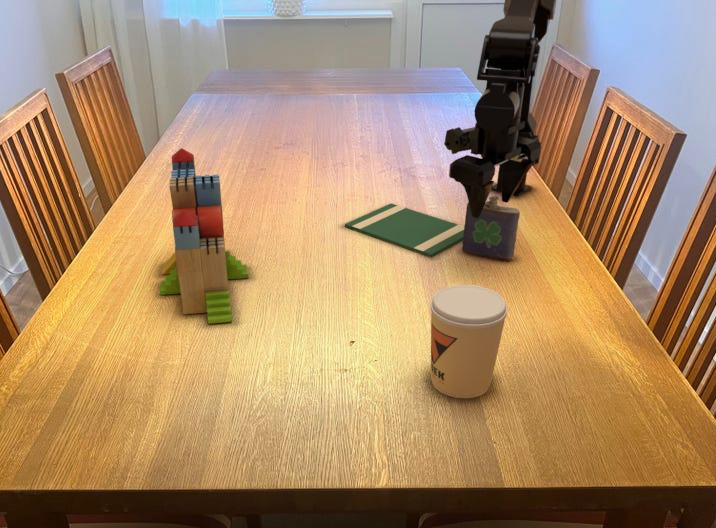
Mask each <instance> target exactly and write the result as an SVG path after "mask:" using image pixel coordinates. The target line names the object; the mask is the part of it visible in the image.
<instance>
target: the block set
mask: <svg viewBox="0 0 716 528" xmlns="http://www.w3.org/2000/svg"><path fill="white" fill-rule="evenodd" d="M171 168H172V169H171V171H170V172H171V173H170V176H171V177H170V178H169V182H168V183H169V185H168V186H169V193H170V200H171V206H172V209H171V218H172V219H171V220H172V221H171V222H172V231H173V240H174V253H173V254H172V255H171V256H170V257H169V258H168V259H167V261H166V262H165V263H163V265H162V269H161V270H162V271H161V275H162V276H164V275H165V280H164V279H163V280H161V281H160V287H159V291H160V295H161V296H163V295H164V296H165V295H178V294H180V297H181V304H182V312H183V315H192V314H203V313H206V315H207V323H208V324H220V323H221V324H222V323H230V322H233V316H232V306H231V297H230V290H229V280H240V279H248V278H249V269H248V264H242V263H243V262H242V260H241V259H238V260H237V257H236V255H231V251H229V250H226V244H225V230H224V215H223V204H222V193H221V180H220V175H219V174H212V175H210V174H205V175H197V174H196V166H195V156H194V154H193V153H192V152H190V151H188V150H187V149H185V148H179V149H178V150H176V151H175V153H173V154H172V155H171Z"/></svg>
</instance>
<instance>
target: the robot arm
mask: <svg viewBox="0 0 716 528" xmlns="http://www.w3.org/2000/svg"><path fill="white" fill-rule="evenodd" d="M556 6H557V0H504V3H503V9H502V10H503V11H502V12H503V15H504V16H503V18H501V19H499V20H496V21H494V22H493V24H492V26H491V28H490V30H489V33H488V34H485V36H484V37H483V43H482V48H481V54H480V59H479V65H478V70H477V73H476V74H477V75H476V81H486V86H485V90H484V91H483V93H482V95H481V96H480V97H479V98H478V101H477V102H476V105H475V106H474V119H475V122H476V123H475V124H474V126H473V127H469V128H463V129H462V128H461V127H459V126H457V127H456V128H455V127H454V128H450V129H447V130H446V132H445V137H444V143H443V144H444V146H445V148H446V150H448V151H450V152H451V155H455V154H458V153H460V152H466V151H470V154H471V155H469V154H466V155H463V156H462V157H459V158H456V159H454V160H453V161H452V162H451V163H450V164H449V168H448V169H449V170H448V173H449V174H448V177H449V178H450V179H453V180H454V182H456V183H460V184H461V186H462V187H463V188H464V191H465V194H466V197H467V203H468V202H469V206H470V210H471V214H472V217H475V218H478V217H479V216H480V214H481V212H482V210H483V207H484V205H485V203H487V200H488V199H489V195H490V193H491V191H494V192H499V193H501V202H502V203H506V204H507V203H509V202H510V201H511V199H512V197H518V196H520V195H523V194H524V193H526V192H529V191H530V190H532V188H533V185H529V184H526V183H527V175H528V173H529V171H530V170H531V169H532V167H535V165H537V164H539V162H540V158H541V151H542V142H541V141H540V138H539V137H540V135H539V134H537V127H538V125H537V124H538V123H537V120H536V119H535V118H534V116H533V114H532V112H531V109H532V100H533V92H534V82H535V77H536V72H537V68H538V64H539V63H538V62H539V57H540V53H541V45H540V44H539V43H540V42H541V41H542V40H543V38H545V36H546V34H547V32H548V29H549V25H550V22H551V20H552V21H553V20H554V19H555V13H556ZM473 155H475V156H473ZM478 155H479V156H480V157H477V156H478ZM497 167H498V174H497V180H496V183H495V181H494V180H493V178H494V176H495V175H496V168H497ZM494 183H495V184H494Z"/></svg>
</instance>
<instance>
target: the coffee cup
mask: <svg viewBox="0 0 716 528" xmlns="http://www.w3.org/2000/svg"><path fill="white" fill-rule="evenodd" d="M429 305H430V306H429V307H430V308H429V309H430V312H431V314H430V379H431V383H432V385H433V387H434V388H435V389H436V391H438V392H439V393H441V394H443V395H445V396H448V397H451V398H456V399H475V398H477V397H480V396H482V395H484V394H485V393H487V392H488V390H489V389H490V387H491V384H492V380H493V376H494V371H495V367H496V363H497V362H496V361H497V358H498V353H499V348H500V344H501V340H502V335H503V329H504V325H505V320H506V317H507V315H508V306H507V303H506V301H505V299H504V298H503V296H502V295H501V294H499V292H496V291H495V290H493V289H491V288H487V287H484V286H480V285H474V284H455V285H450V286H449V285H448V286H445V287H443V288H441V289H439V290H438V291H436V292H435V294H434V295H433V298H432V299H431V301H430V304H429Z"/></svg>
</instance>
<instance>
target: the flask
mask: <svg viewBox="0 0 716 528" xmlns="http://www.w3.org/2000/svg"><path fill="white" fill-rule="evenodd" d="M488 199H489V201H486V203H485V205H484V207H483V210H482V212H481V214H480V216H479V217H478V218H475V217H472V214H471V210H470V206H469V202H468V201H467V204H466V211H465V219H464V225H463V226H464V234H463V240H462V243H461V244H462V245H461V252H462V253H464V254H466V255H470V256H473V257H477V258H483V259H488V260H492V261H493V260H494V261H500V262H511V261H513V259H514V258H515V249H516V242H517V233H518V226H519V220H520V215H521V211H520V209H518V208H516V207H509V206H502V205H501V206H500V205H498V200H499V199H500V197H499V196H497V195H493V196H489V197H488Z"/></svg>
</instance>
